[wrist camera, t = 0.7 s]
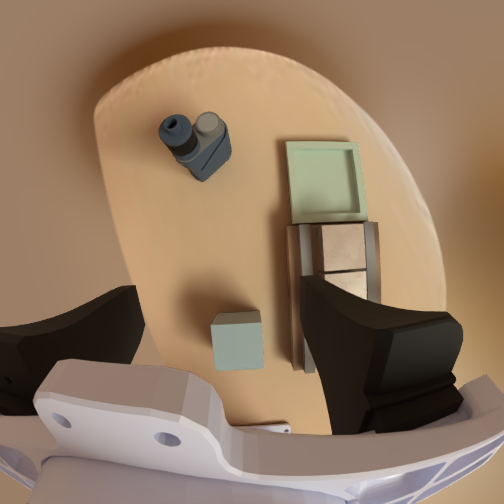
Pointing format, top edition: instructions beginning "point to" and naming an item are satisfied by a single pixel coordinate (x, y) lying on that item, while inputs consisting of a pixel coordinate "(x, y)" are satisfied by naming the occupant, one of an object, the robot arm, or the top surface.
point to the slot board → (306, 263)
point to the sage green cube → (237, 341)
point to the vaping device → (197, 142)
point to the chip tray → (325, 182)
